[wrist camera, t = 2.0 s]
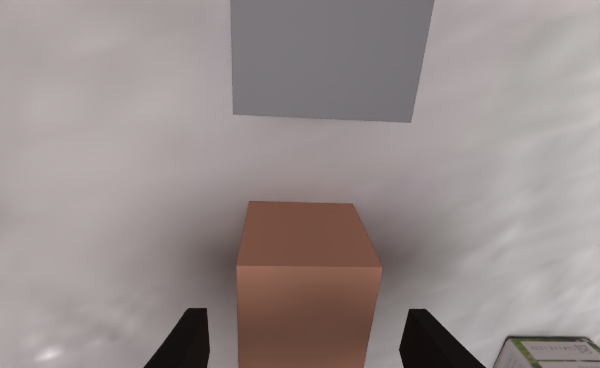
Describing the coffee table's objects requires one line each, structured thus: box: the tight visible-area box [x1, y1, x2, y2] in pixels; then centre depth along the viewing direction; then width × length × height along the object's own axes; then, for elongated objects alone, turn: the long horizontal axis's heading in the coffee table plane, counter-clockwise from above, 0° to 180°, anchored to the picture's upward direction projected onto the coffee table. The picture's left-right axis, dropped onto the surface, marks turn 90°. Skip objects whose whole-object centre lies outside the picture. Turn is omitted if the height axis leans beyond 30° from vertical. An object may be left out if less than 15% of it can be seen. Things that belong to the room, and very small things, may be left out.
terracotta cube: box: [236, 201, 383, 368], centre depth 14 cm, size 5×5×5 cm
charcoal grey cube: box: [231, 0, 434, 123], centre depth 10 cm, size 5×5×5 cm
